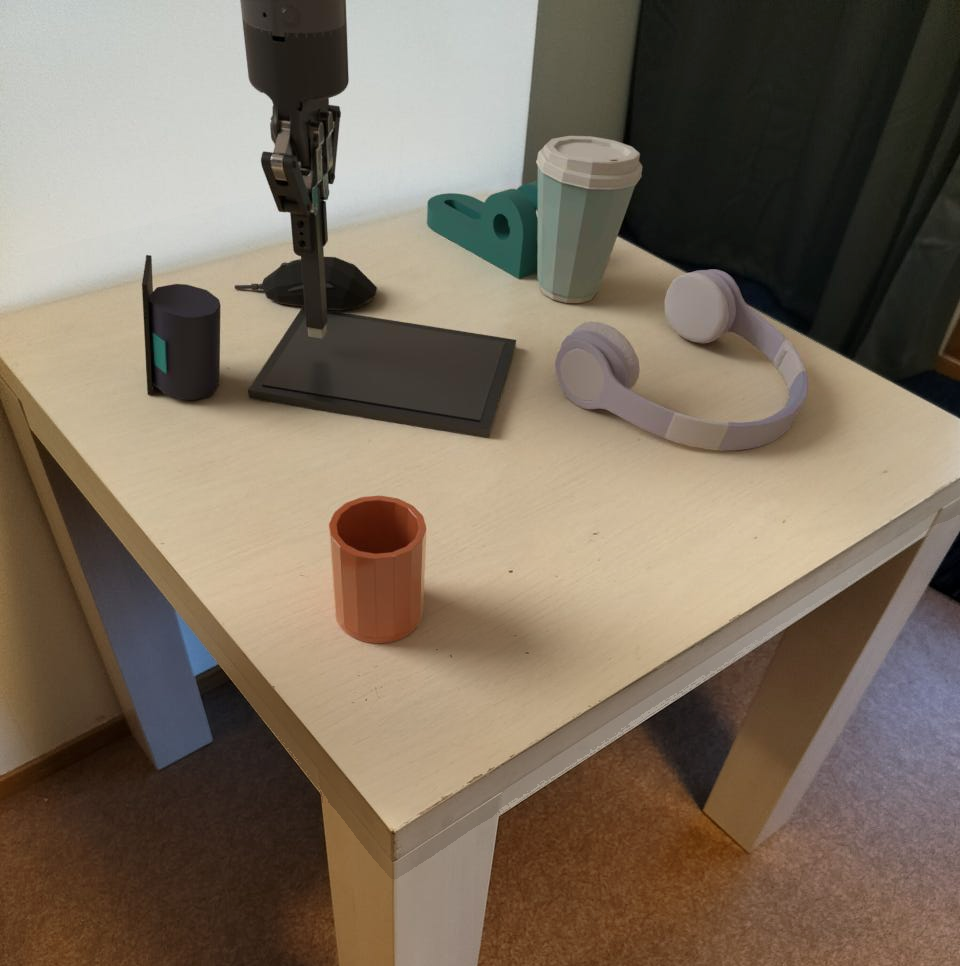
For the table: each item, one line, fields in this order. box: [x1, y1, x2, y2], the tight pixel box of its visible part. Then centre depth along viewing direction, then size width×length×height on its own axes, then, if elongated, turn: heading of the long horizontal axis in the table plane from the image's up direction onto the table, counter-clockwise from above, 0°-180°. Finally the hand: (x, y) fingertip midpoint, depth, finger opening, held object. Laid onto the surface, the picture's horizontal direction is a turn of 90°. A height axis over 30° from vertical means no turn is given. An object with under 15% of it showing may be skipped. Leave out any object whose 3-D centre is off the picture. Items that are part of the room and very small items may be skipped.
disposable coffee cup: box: [535, 135, 643, 304], centre depth 93 cm, size 11×11×15 cm
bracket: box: [426, 180, 538, 280], centre depth 103 cm, size 18×7×8 cm, turn 42°
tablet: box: [247, 306, 517, 439], centre depth 85 cm, size 22×16×1 cm
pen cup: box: [328, 495, 427, 644], centre depth 61 cm, size 6×6×8 cm
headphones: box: [554, 268, 809, 451], centre depth 84 cm, size 22×7×20 cm
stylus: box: [300, 187, 328, 339], centre depth 79 cm, size 2×2×13 cm
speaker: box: [141, 254, 221, 401], centre depth 78 cm, size 8×6×10 cm
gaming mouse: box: [234, 256, 378, 311], centre depth 93 cm, size 6×15×4 cm, turn 88°
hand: (311, 249), depth 78 cm, fingers closed on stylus, 1 cm apart
